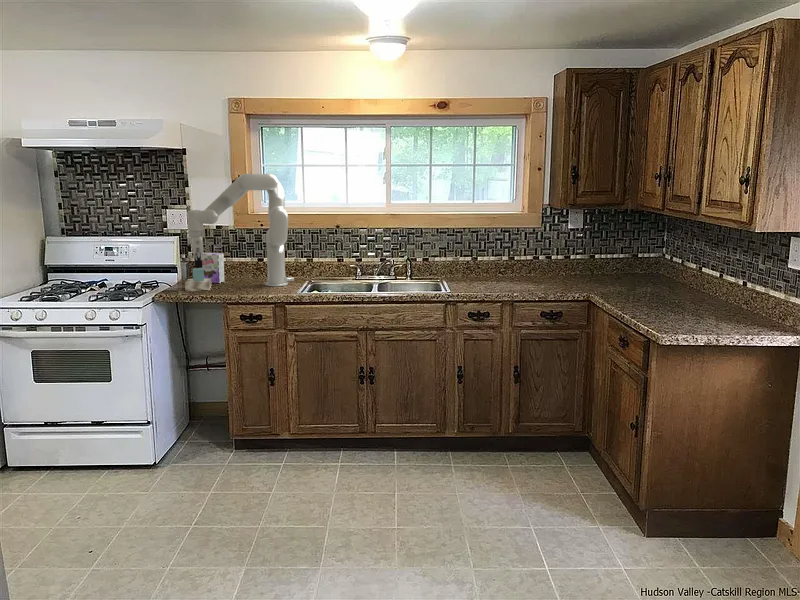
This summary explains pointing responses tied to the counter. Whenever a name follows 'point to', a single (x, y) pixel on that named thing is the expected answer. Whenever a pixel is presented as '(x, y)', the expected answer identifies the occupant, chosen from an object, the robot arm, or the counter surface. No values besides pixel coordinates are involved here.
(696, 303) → the counter surface
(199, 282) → the birch block
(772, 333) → the counter surface
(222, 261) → the candy box
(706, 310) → the counter surface
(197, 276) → the teal block
